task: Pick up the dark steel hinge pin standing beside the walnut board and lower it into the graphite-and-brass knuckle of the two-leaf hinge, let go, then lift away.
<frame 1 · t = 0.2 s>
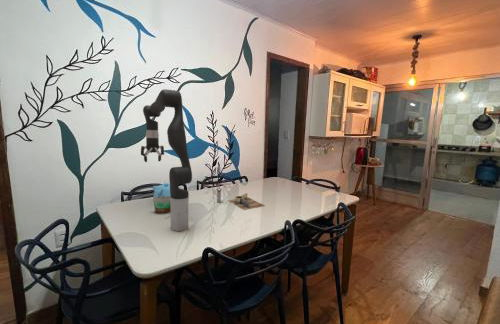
hand: (152, 161, 162), 29 cm above the table, fingers open, 8 cm apart
hinge pin: (218, 203, 172), on the table
food container: (162, 212, 152), on the table
light blue lumpy piece: (167, 201, 173), on the table
mounting board: (246, 204, 174), on the table
hinge: (239, 202, 173), resting on mounting board
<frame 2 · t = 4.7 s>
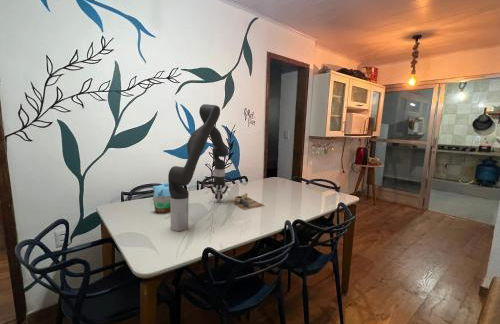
hand: (218, 199, 172), 4 cm above the table, fingers closed on hinge pin, 2 cm apart
hinge pin: (218, 203, 172), on the table, touching gripper
everything else where it was.
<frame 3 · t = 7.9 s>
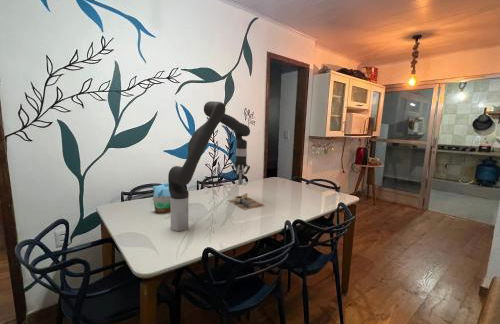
hand: (240, 179, 171), 18 cm above the table, fingers closed on hinge pin, 2 cm apart
hinge pin: (239, 184, 171), point 15 cm above the table, touching gripper
everything else where it was.
when the fingers open (6 cm above the table, at t = 11.2 s): hinge pin stays where it is, resting on mounting board.
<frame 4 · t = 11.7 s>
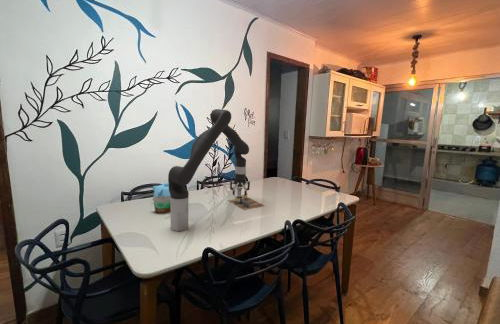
hand: (239, 195, 173), 7 cm above the table, fingers open, 7 cm apart
hinge pin: (239, 202, 173), point 1 cm above the table, touching mounting board
everything else where it was.
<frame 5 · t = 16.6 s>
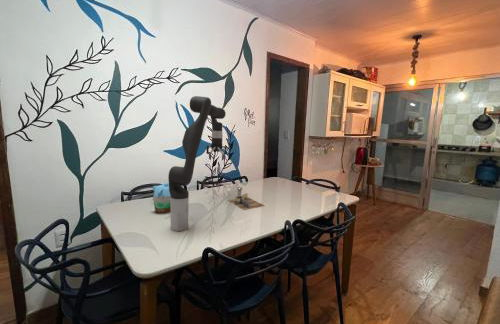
hand: (216, 159, 175), 30 cm above the table, fingers open, 8 cm apart
nothing on the table moved.
at the end: hinge pin 0.0 cm off-centre on the hinge, point 0.0 cm above the hinge's base; hinge pin tilted 0°; the gripper is holding nothing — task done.
